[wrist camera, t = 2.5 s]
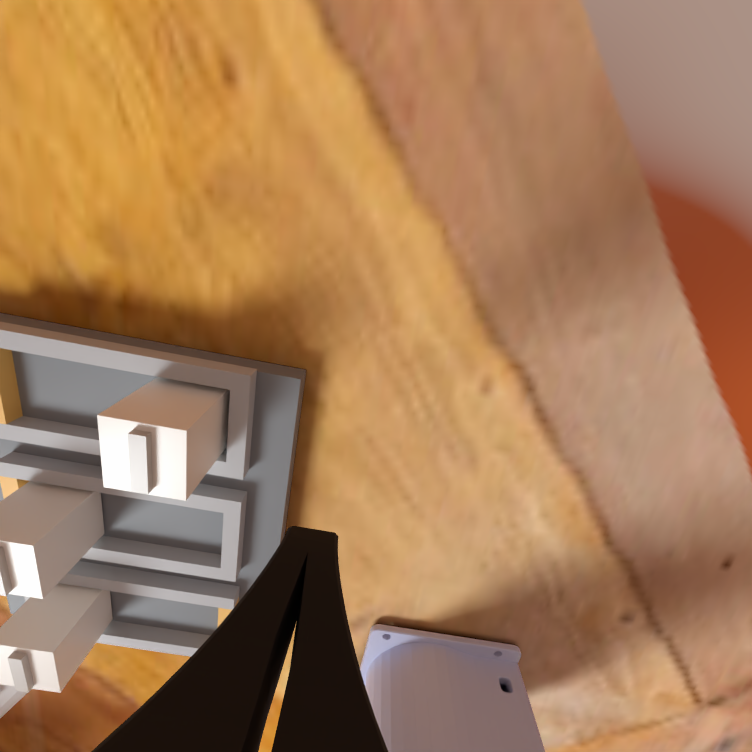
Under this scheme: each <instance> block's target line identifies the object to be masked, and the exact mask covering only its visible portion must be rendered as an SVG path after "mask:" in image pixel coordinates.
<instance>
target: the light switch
mask: <svg viewBox="0 0 752 752" xmlns="http://www.w3.org/2000/svg"><path fill="white" fill-rule="evenodd" d="M27 693H28V692H21V691H16V689H15V686H9V685H2V684H0V718H1V717H2V716H3V715H4V714H6V713H7V712H8V711H9V710H10V709H11V708H12V707H13V706H14V705H15V704H16V703H17V702H18V701H19V700H20V699H22V698H23V697H24V696H25V695H26V694H27Z"/></svg>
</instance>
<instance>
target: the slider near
mask: <svg viewBox="0 0 752 752" xmlns="http://www.w3.org/2000/svg"><path fill="white" fill-rule="evenodd" d="M228 401H229V390H228V389H222V388H217V387H211V386H206V385H200V384H195V383H189V382H184V381H178V380H173V379H167V378H162V377H157V378H155V379H154V380H152V381H150V382H149V383H147V384H146V385H144V386H143V387H141V388H139V389H138V390H136V391H135V392H133V393H131V394H130V395H128V396H127V397H125V398H123V399H122V400H120V401H119V402H117V403H115V404H114V405H112V406H111V407H109V408H108V409H106V410H104V411H103V412H101V413H100V414H98V415H97V420H98V431H99V442H100V453H101V464H102V475H103V486H104V487H106V488H112V489H118V490H124V491H130V492H136V493H142V494H148V495H154V496H160V497H166V498H172V499H178V500H184V501H186V500H187V499H188V498H189V496H190V495H191V494H192V492H193V491H194V490H195V488H196V487H197V486H198V484H199V483H200V482H201V480H202V479H203V477H204V476H205V475H206V473H207V472H208V471H209V469H210V468H211V467H212V465H213V464H214V463H215V461H216V460H217V459H218V457H219V456H220V455H221V453H222V452H223V451H224V449H225V448H226V440H227V421H228Z"/></svg>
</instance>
